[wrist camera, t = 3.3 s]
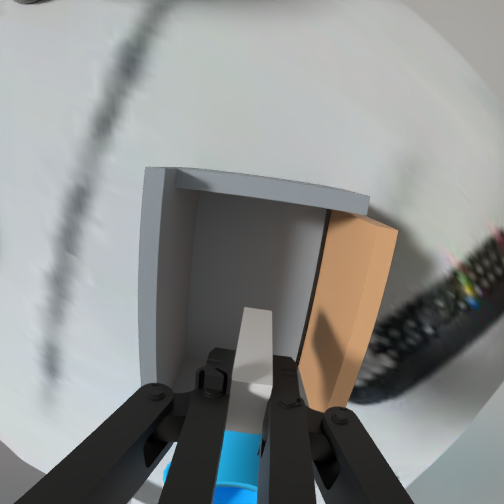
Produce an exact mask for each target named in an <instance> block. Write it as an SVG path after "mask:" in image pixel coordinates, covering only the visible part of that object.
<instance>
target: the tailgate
mask: <svg viewBox="0 0 504 504" xmlns="http://www.w3.org/2000/svg"><path fill="white" fill-rule="evenodd" d="M397 234H398V230H396V229H394V228H392V227H390V226H387V225H385V224H383V223H381V222H378V221H376V220H374V219H371V218H369V217H367V216H364V215H362V214H356V213H351V212H345V211H339V210H333V209H331V214H330V220H329V226H328V232H327V237H326V243H325V248H324V253H323V258H322V264H321V269H320V274H319V279H318V283H317V288H316V293H315V298H314V302H313V307H312V311H311V316H310V320H309V325H308V329H307V333H306V338H305V342H304V346H303V350H302V354H301V358H300V362H299V366H298V368H299V371H300V375H301V378H302V382H303V386H304V389H305V393H306V396H307V400H308V404H309V407H310V408H311V409H314V410H316V411H320V412H323V413H325V411H326V410H327V409H328V408H331V407H334V406H341V407H346V405H347V402H348V400H349V397H350V395H351V392H352V390H353V387H354V384H355V381H356V379H357V376H358V373H359V370H360V368H361V365H362V362H363V359H364V356H365V353H366V350H367V347H368V344H369V341H370V338H371V334H372V331H373V328H374V325H375V321H376V318H377V315H378V311H379V308H380V304H381V301H382V297H383V293H384V289H385V286H386V282H387V278H388V274H389V270H390V266H391V261H392V257H393V253H394V248H395V244H396V239H397Z"/></svg>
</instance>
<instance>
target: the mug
mask: <svg viewBox="0 0 504 504" xmlns="http://www.w3.org/2000/svg"><path fill="white" fill-rule="evenodd" d="M261 438H262V433H261V435H258V434H250V433H242V432H235V431H228V430H225V433H224V440H223V446H222V452H221V458H220V464H219V469H218V475H217V481H216V487H215V493H214V499H213V504H257V488H258V471H259V455H257V453H258V450H259V446H260V442H261ZM170 464H171V462H170V463H169V464H168V465H167V467H166V469H165V470H164V474H163V481H164V483H165V480H166V477H167V474H168V471H169V468H170Z"/></svg>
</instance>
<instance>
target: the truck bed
mask: <svg viewBox="0 0 504 504" xmlns="http://www.w3.org/2000/svg"><path fill="white" fill-rule="evenodd" d="M369 200H370V196H366V195H362V194H359V193H355V192H351V191H347V190H343V189H339V188H333V187H328V186H322V185H316V184H310V183H304V182H298V181H291V180H285V179H278V178H271V177H264V176H257V175H250V174H242V173H234V172H225V171H217V170H208V169H198V168H182V167H145V175H144V185H143V196H142V209H141V224H140V243H139V271H138V330H139V358H140V376H141V387H142V386H143V385H145V384H148V383H161V384H165V385H167V386H168V387H170V388H171V389H172V391H173V393H186V392H190V391H192V390H194V389H195V377H196V371H197V370H198V369H199V368H201V367H203V366H205V365H206V361H207V358H208V355H209V352H210V351H212V350H213V349H214V348H215V347H218V348H224V349H230V350H237V345H238V339H239V334H240V328H241V323H242V317H243V312H244V307H248V308H255V309H262V310H269V311H272V355H279V356H287V357H292V359H293V360H294V361H295V362H296V358H297V354H298V350H299V345H300V341H301V337H302V332H303V328H304V324H305V319H306V315H307V310H308V305H309V301H310V296H311V291H312V286H313V281H314V276H315V271H316V266H317V261H318V256H319V250H320V245H321V239H322V234H323V228H324V222H325V217H326V211H327V209H333V210H339V211H345V212H351V213H356V214H362V215H367V211H368V206H369ZM297 374H298V382H299V391H300V397H301V398H302V399H303V400H304V402H305V405H306V406H308V407H309V404H308V400H307V396H306V393H305V389H304V386H303V382H302V378H301V375H300V371H299V368H298V366H297ZM309 408H310V407H309Z"/></svg>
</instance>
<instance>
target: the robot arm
mask: <svg viewBox="0 0 504 504" xmlns="http://www.w3.org/2000/svg"><path fill="white" fill-rule="evenodd" d="M13 1H15V2H17V3H20V4H28V3H33V2H36V1H39V0H13ZM225 430H228V431H235V432H242V433H250V434H258V435H261V433H262V438H261V442H260V446H259V450H258V453H257V455H259V471H258V488H257V504H316V494H315V484H314V478H315V480H316V483H317V485H318V487H319V490H320V492H321V494H322V497H323V499H324V501H325V503H326V504H414V503H413V501H412V500H411V498H410V496H409V495H408V493H407V492H406V490H405V489H404V487H403V486H402V484H401V483H400V481H399V480H398V478H397V477H396V475H395V474H394V472H393V470H392V469H391V467H390V466H389V464H388V463H387V461H386V460H385V458H384V457H383V455H382V454H381V452H380V451H379V449H378V448H377V446H376V445H375V443H374V441H373V440H372V438H371V437H370V435H369V434H368V432H367V431H366V429H365V428H364V426H363V425H362V423H361V422H360V420H359V419H358V417H357V416H356V414H355V413H354V412H353V411H351V410H349V409H348V408H345V407H341V406H334V407H331V408H328V409H327V410H326V411H325V413H323V412H320V411H316V410H314V409H311V408H309V407H308V406H306V405H305V402H304V400H303V399H302V398H301V397H300V391H299V382H298V374H297V366H296V363H295V361H294V360H293V359H292V357H287V356H279V355H272V311H269V310H262V309H255V308H248V307H244V312H243V317H242V323H241V328H240V334H239V339H238V345H237V350H230V349H224V348H218V347H215V348H214V349H213V350H212V351H210V352H209V355H208V358H207V361H206V365H205V366H203V367H201V368H199V369H198V370H197V371H196V377H195V389H194V390H192V391H190V392H186V393H173V391H172V389H171V388H170V387H168V386H167V385H165V384H161V383H148V384H145V385H143V386H142V387H140V388H139V389H138V390H137V391H136V392H135V393H134V394H133V395H132V396H131V397H130V398H129V399H128V400H127V401H126V402H125V403H124V404H122V405H121V406H120V407H119V408H118V409H117V410H116V411H115V412H114V413H113V414H112V415H111V416H110V417H109V418H108V419H106V420H105V421H104V422H103V423H102V424H101V425H100V426H99V427H98V428H97V429H96V430H95V431H94V432H92V433H91V434H90V435H89V436H88V437H87V438H86V439H85V440H84V441H83V442H82V443H81V444H79V445H78V446H77V447H76V448H75V449H74V450H73V451H72V452H71V453H70V454H69V455H67V456H66V457H65V458H64V459H63V460H62V461H61V462H60V463H59V464H58V465H56V466H55V467H54V468H53V469H52V470H51V471H50V472H49V473H48V474H47V475H46V476H44V478H42V479H41V480H40V481H39V482H38V483H37V484H35V485H34V486H33V487H32V488H31V489H30V490H29V491H28V492H26V493H25V494H24V495H23V496H22V497H21V498H20V499H18V500H17V501H16V502H15V503H14V504H127V503H128V502H129V501H130V500H131V498H132V497H133V496H134V495H135V493H136V492H137V491H138V489H139V488H140V487H141V486H142V484H143V483H144V482H145V481H146V479H147V478H148V477H149V475H150V474H151V473H152V471H153V470H154V469H155V468H156V466H157V465H158V464H159V462H160V461H161V460H162V458H163V457H164V456H165V454H166V453H167V452H168V450H169V449H170V448H171V446H172V445H173V443H174V442H178V443H177V446H176V449H175V452H174V455H173V458H172V461H171V464H170V468H169V471H168V474H167V477H166V480H165V483H164V487H163V490H162V493H161V496H160V499H159V503H158V504H213V499H214V493H215V487H216V481H217V475H218V469H219V464H220V458H221V452H222V446H223V440H224V433H225Z"/></svg>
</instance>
